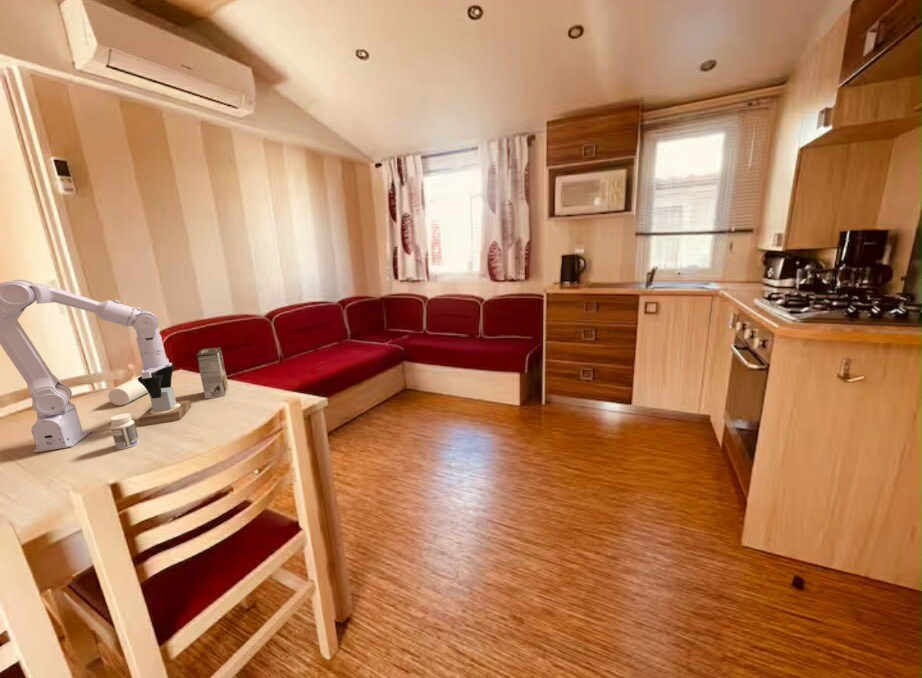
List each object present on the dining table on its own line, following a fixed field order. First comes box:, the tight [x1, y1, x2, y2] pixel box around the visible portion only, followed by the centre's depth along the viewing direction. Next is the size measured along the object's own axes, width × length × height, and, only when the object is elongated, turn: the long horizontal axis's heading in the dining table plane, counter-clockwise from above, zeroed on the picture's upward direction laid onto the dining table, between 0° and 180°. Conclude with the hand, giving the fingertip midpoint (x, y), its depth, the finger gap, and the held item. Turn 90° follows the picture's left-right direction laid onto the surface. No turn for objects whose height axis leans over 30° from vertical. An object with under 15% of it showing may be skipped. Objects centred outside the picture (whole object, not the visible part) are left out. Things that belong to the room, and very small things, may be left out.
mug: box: [108, 375, 149, 406], centre depth 131 cm, size 10×7×12 cm
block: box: [148, 386, 177, 412], centre depth 116 cm, size 4×4×6 cm
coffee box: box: [196, 346, 229, 400], centre depth 133 cm, size 9×6×16 cm
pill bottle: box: [110, 412, 140, 450], centre depth 99 cm, size 5×5×8 cm
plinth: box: [138, 399, 192, 426], centre depth 117 cm, size 10×10×3 cm
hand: (161, 393), depth 115 cm, fingers open, 7 cm apart
